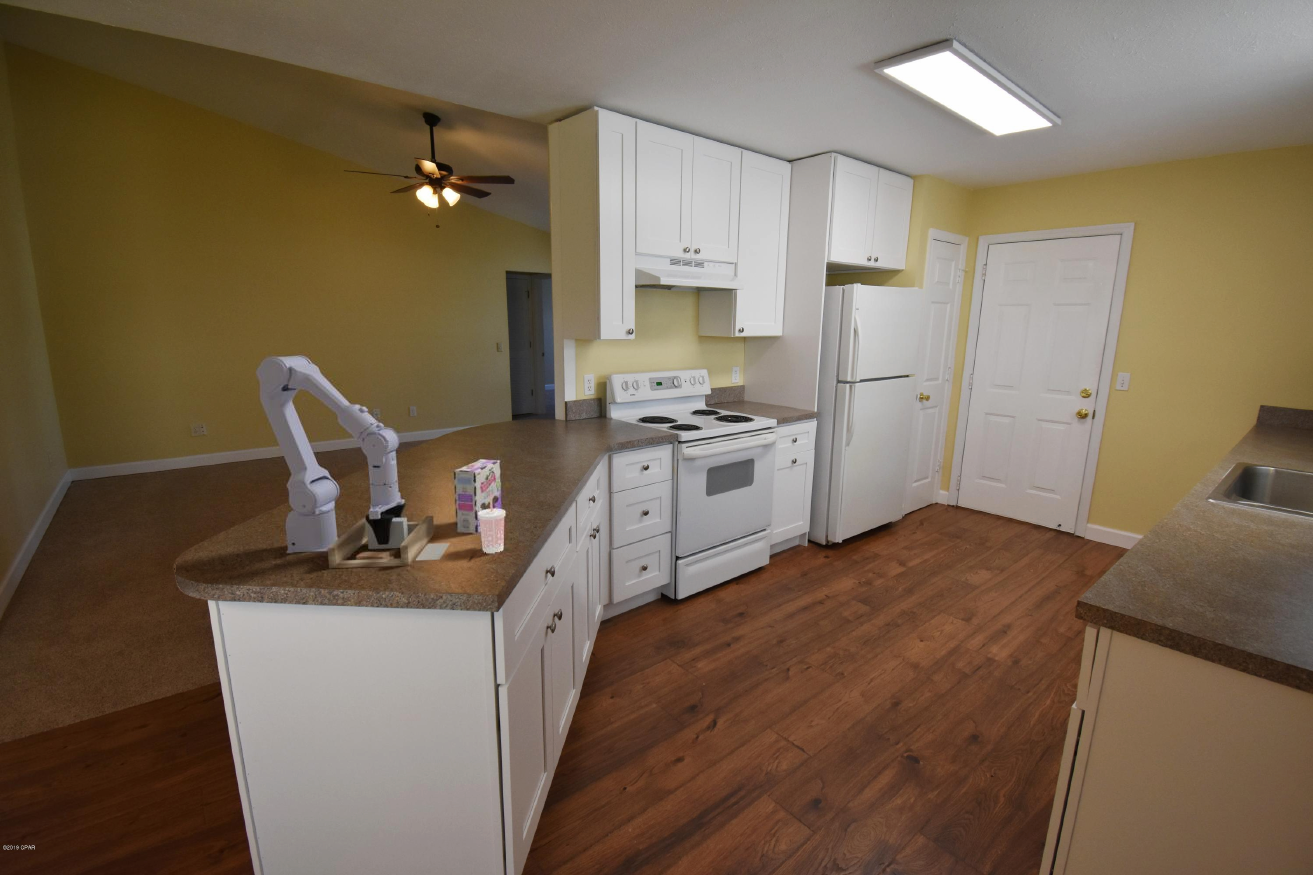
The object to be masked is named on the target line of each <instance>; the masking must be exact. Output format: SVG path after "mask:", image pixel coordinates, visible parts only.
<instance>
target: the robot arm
mask: <svg viewBox="0 0 1313 875" xmlns="http://www.w3.org/2000/svg"><path fill="white" fill-rule="evenodd" d="M255 374H256V377H257V379H258V381H259V399H260V403H261V405H262V408H263V410H264V413H265V414H266V417H267V420H268V422H269V424H270V426H271V429H272V432H273V433H274V436H275V437H276V438H275V439H276V440H277V442H278V445H279V448H280V449H281V453H282V454H283V457H284V459H285V462H286V464H287V466H288V468H289V472H290V473H291V474H290V477H289V480H288V482H287V484H286V488H287V490H288V494H289V495H288V503H289V505H290V507H291V508H292V510H291V511H290V512H289V513H288V515H287V516H286V520H285V532H286V533H285V534H286V543H287V551H286V554H293V553H299V552H300V553H306V552H308V553H309V552H312V553H313V552H328V549H327V548H328V547H329V546H330V545H331V544H333V543H334V542H335V541H336V540H338V539H339V538H340V537H339V538H338V531H337V522H336V511H335V505H336V504H335V503H336V500H337V499H338V498H339V496H340V487H339V484H338V483H337V482H336V481H335V480H334V479H333V478H332V477H331V475H330V473H329V471H328V470H327V469H325V468H324V467H321V466H320V465H319V464H318V462H317V459H316V456H315V454H314V452H313V449H312V447H311V444H310V441H309V439H308V437H307V435H306V432H305V429H304V427H303V425H302V423H301V420H300V418H299V416H298V413H297V411H296V407H295V405H294V404H293V399H294V397H295V396H296V394H297V392H298V391H300V390H303V391H308V392H310V393H311V395H313V396H314V397H316V398H317V399H318V400H319V401H321V402H322V403H323V404H324V405H326V406H327V407H328V408H329V409H330V410H332V411H333V412H335V413H336V415H337V422H338V423H339V424H340V426H342V427H343V429H345V430H346V432H348V433H349V434H350V435H352V436H353V437H354V439H356V440H357V441H358V442H359V443H361V444H360V448H361V450H362V452H363V453H364V455H365V456H366V457H367V458H366V459H367V465H368V477H369V489H370V500H371V501H370V505H369V506H370V508H369V510H368V514H367V515H365V516H364V518H365V519H366V521H367V523H368V524H369V525H370V526H371V528H372V530H373V532H374V535H375V537H376V540H377V543H378V545H388V544H389V540H390V527H391V523H392V520H393V518H402V515H403V513H404V512H403V511H404V510H405V507H406V502H405V501H406V500H405V499H402V498H401V496H402V495H401V492H399V482H398V481H399V480H398V466H397V453H396V450H397V449H398V448H399V446H400V437H399V435H398V433H397V432H396V431H395V429H393V428H391V427H387V426H385V425H384V424H383V423H382V422H379V421H378V420H376V419H375V418H374V417H373V416H372V415H371V414H370V413H369V412H368V411H369V409H368V408H367V406H361V405H360V404H351V403H350V402H349V401H348V400H347V399H346V398H345V397H344V395H343V394H341V393H340V392H339V391H338V390H337V389H336V387H334V386H333V384H332V383H331V382H330V381H329V380H328V379H327V378H326V377H325V376H324V375H323V374H322V373H321V370H320V369H319V367H318V365H316V364H314V363H313V362H312V361H311V360H310V359H309V358H308V357H307V356H304V355H301V354H297V355H291V356H289V355H288V356H269V357H266V358H264V359H263V360H262V361H261V362H260V364H259V366H258V368H257V369H256V371H255Z"/></svg>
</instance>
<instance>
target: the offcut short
mask: <svg viewBox="0 0 1313 875" xmlns="http://www.w3.org/2000/svg"><path fill="white" fill-rule="evenodd" d="M389 557H391V556H390V552H389V551H386V552H385V551H361V552H360V553H359V554H357V555H356V556H355V560H372V559H388V558H389Z"/></svg>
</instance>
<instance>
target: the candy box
mask: <svg viewBox="0 0 1313 875" xmlns="http://www.w3.org/2000/svg"><path fill="white" fill-rule="evenodd" d="M453 480H454V482H453V484H454V502H455V503H454V504H455V523H456V524H455V527H456V533H462V534H473V535H475V534H479V533H481V529H480V521H479V518H478V512H480V511H482V510H485V509H490V491H492V507H493V509H495V508H496V509H503V507H502V504H503V503H502V502H503V501H502V482H501V481H502V480H501V460H498V459H497V460H496V459H482V458H480V459H478V460H477V461H475V462H472V463H470V464H467V465H465V466H462V467H460V468H457V469H454V470H453Z"/></svg>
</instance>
